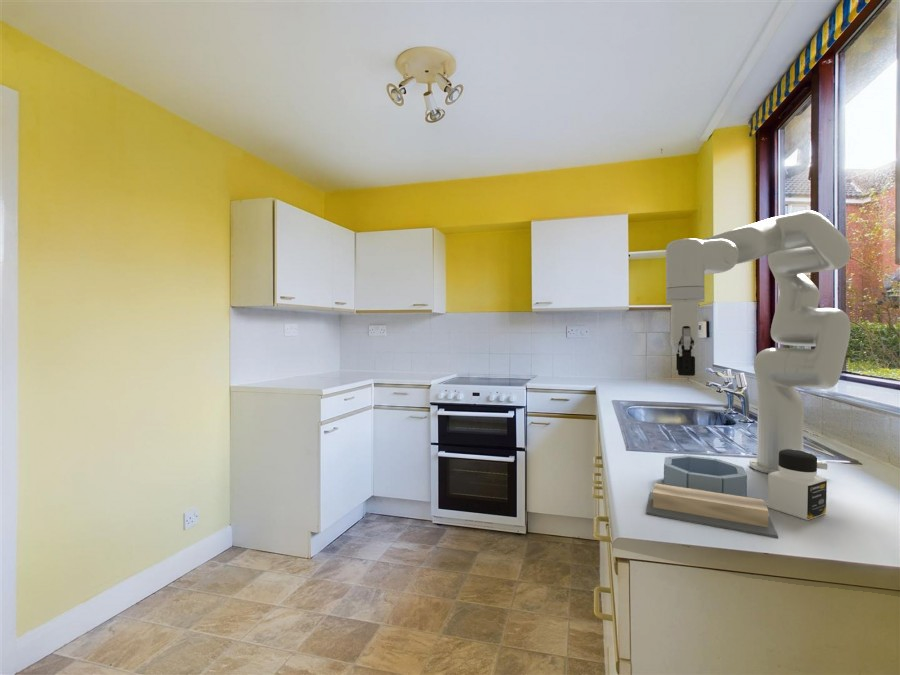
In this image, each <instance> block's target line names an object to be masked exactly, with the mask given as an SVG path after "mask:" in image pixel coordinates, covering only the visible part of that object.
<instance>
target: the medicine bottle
mask: <svg viewBox="0 0 900 675" xmlns="http://www.w3.org/2000/svg"><path fill="white" fill-rule="evenodd" d="M817 460H818V457H817V456H816V455H815V454H813V453H812V452H809V451H806V450H803V451H802V450H796V449H785V450H781V451H780V452H779V464H778V469H779V470H780V471H776V472H772V473H769V474H768V473H767V478H768V479H767V508H769V509H771V510H774V511H778V512H780V513H783V514H787V515H789V516H792V517H795V518H799V519H802V520H805V521H810V520H812V519H815V518H818V517H820V516H824V515H826V514H827V492H828V491H827V490H828V489H827V487H828V485H827V484H828V482H827V481H828V480H827V478H826V477H822V476H818V475H817V474H818V472H817V471H818V469H817Z"/></svg>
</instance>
